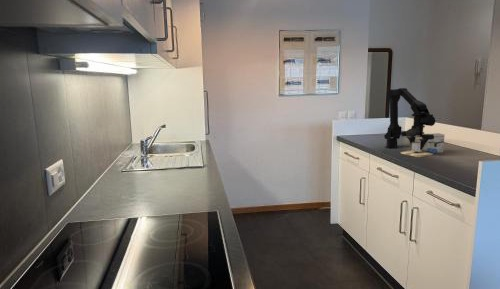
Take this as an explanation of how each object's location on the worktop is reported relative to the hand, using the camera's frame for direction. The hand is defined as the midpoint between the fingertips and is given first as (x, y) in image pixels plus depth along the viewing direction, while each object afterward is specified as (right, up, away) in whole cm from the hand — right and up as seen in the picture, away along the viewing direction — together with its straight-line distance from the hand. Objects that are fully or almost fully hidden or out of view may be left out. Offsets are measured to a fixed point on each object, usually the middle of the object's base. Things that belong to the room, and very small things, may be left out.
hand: (416, 148), depth 224 cm
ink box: (+14, -2, +6) cm, 16 cm away
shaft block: (0, -3, +1) cm, 4 cm away
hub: (0, -1, 0) cm, 1 cm away
